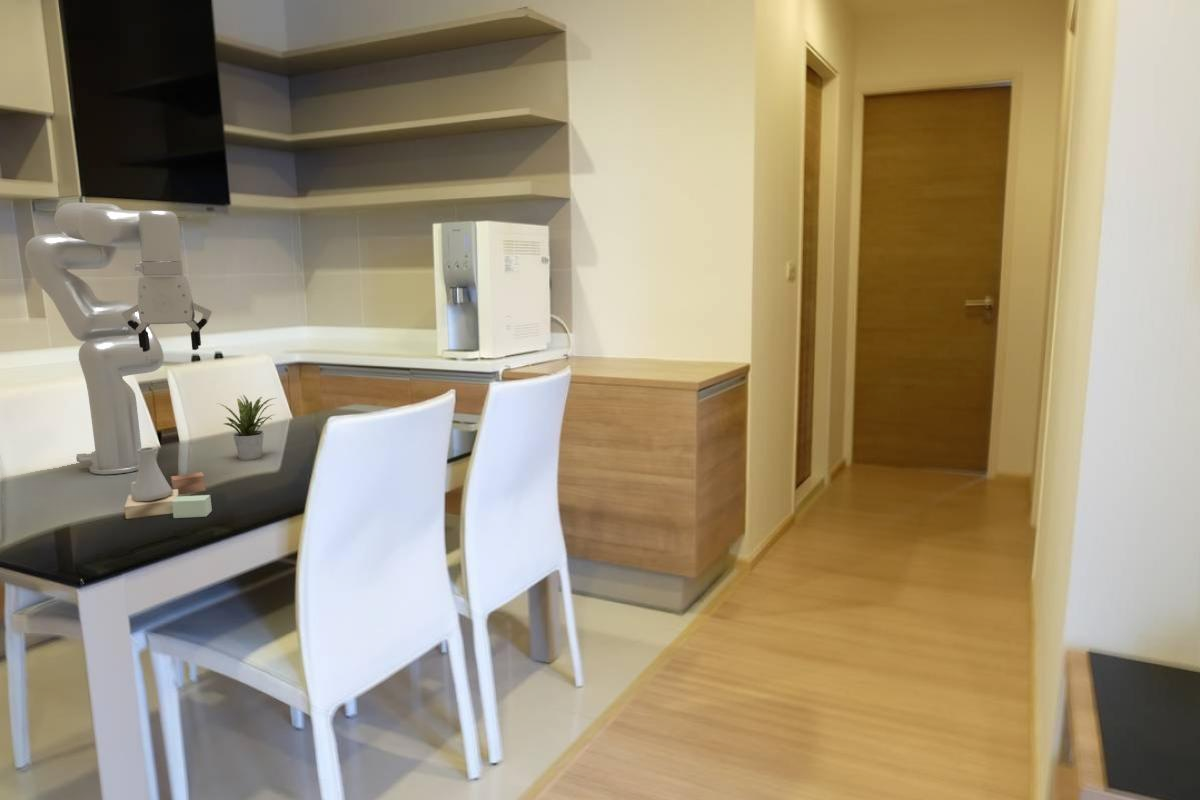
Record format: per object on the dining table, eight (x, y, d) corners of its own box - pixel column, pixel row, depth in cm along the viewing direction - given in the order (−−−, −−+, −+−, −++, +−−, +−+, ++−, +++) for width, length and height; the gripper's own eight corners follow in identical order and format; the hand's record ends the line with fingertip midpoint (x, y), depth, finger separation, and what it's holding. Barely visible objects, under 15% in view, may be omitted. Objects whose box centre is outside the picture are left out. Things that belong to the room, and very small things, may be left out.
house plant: (297, 453, 207) (293, 391, 204) (255, 466, 194) (249, 400, 191) (256, 448, 212) (251, 387, 209) (212, 460, 200) (206, 396, 197)
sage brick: (173, 518, 157) (171, 501, 156) (179, 513, 160) (178, 496, 160) (206, 517, 158) (204, 500, 157) (211, 511, 161) (210, 494, 161)
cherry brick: (175, 495, 172) (173, 480, 171) (172, 492, 175) (170, 476, 174) (205, 490, 175) (204, 475, 175) (202, 487, 178) (201, 472, 177)
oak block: (126, 521, 157) (124, 507, 156) (130, 508, 165) (128, 494, 164) (178, 515, 160) (176, 500, 160) (179, 502, 168) (178, 488, 168)
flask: (149, 504, 158) (142, 454, 156) (123, 500, 160) (116, 451, 158) (180, 493, 164) (174, 445, 162) (156, 489, 167) (149, 443, 165)
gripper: (112, 271, 165) (121, 353, 168) (204, 270, 169) (211, 350, 172) (122, 270, 172) (131, 349, 175) (210, 269, 176) (217, 346, 180)
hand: (171, 350), depth 174 cm, fingers open, 9 cm apart
